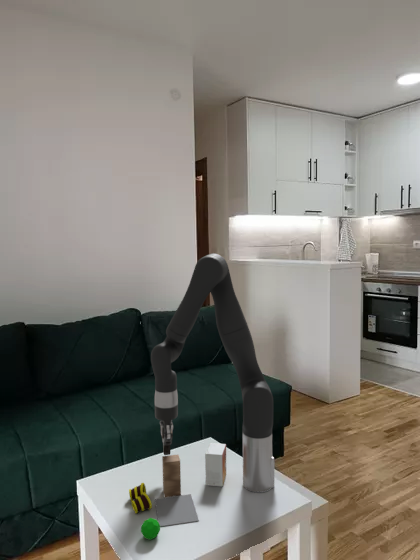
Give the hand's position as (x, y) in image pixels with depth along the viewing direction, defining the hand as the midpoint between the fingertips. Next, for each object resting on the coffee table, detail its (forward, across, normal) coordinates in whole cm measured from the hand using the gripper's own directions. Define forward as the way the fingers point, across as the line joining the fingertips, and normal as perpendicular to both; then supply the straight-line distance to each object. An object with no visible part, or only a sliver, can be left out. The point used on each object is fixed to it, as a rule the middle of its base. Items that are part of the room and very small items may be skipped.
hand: (166, 453), depth 144 cm
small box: (+8, -6, -15) cm, 18 cm away
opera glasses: (+8, -14, +10) cm, 19 cm away
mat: (+8, -19, 0) cm, 20 cm away
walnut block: (+8, -10, 0) cm, 12 cm away
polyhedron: (+8, -29, +8) cm, 31 cm away
